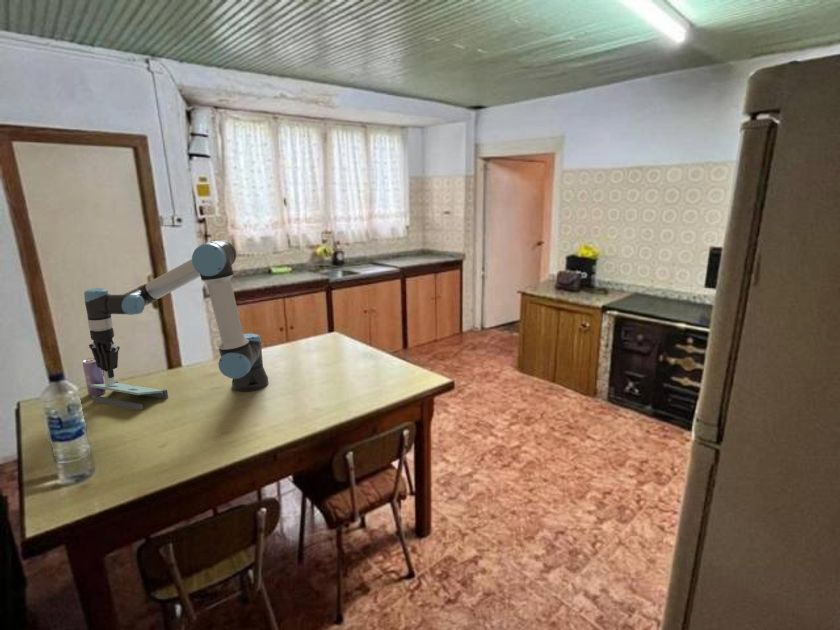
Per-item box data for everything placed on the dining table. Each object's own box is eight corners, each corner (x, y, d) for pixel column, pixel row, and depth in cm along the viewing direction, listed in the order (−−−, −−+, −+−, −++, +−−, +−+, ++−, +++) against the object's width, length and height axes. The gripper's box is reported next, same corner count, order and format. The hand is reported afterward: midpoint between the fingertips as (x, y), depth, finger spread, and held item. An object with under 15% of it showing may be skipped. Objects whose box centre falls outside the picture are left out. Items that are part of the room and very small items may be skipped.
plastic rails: (168, 397, 188) (167, 389, 187) (143, 411, 177) (142, 402, 176) (117, 389, 195) (116, 381, 194) (90, 401, 184) (89, 393, 183)
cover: (164, 392, 187) (164, 390, 187) (137, 395, 175) (138, 392, 175) (118, 384, 194) (118, 382, 194) (90, 386, 182) (90, 384, 182)
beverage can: (109, 391, 192) (103, 358, 188) (95, 397, 187) (88, 363, 183) (99, 389, 194) (93, 356, 190) (85, 395, 189) (78, 361, 185)
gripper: (123, 327, 178) (131, 383, 184) (97, 324, 182) (106, 378, 188) (105, 333, 171) (114, 390, 177) (79, 329, 175) (88, 385, 181)
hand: (110, 384), depth 183 cm, fingers closed
